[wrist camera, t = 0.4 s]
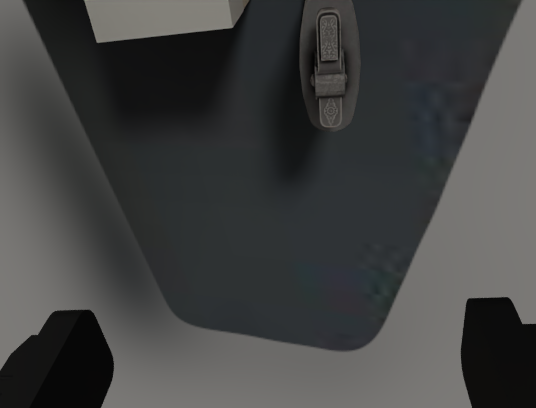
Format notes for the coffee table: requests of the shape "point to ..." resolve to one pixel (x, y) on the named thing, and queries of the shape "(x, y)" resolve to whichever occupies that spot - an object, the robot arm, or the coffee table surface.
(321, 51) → the lighter
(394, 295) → the coffee table surface
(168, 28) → the cream block
